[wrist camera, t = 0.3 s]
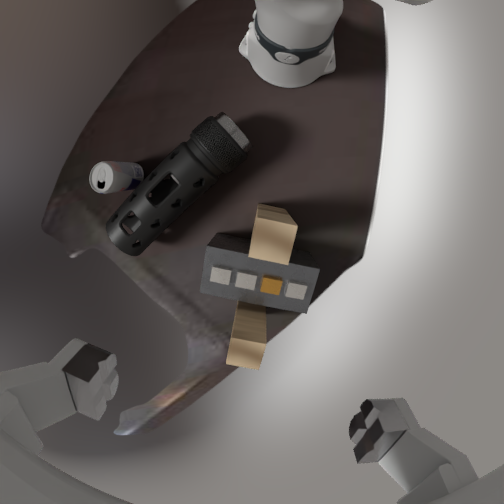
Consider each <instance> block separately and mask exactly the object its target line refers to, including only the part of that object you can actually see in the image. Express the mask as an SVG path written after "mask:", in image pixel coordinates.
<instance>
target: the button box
mask: <svg viewBox="0 0 504 504" xmlns="http://www.w3.org/2000/svg"><path fill="white" fill-rule="evenodd" d="M250 245H251V240H249V239H244V238H240V237H235V236H230V235H225V234H220V233H217V234H216V235H215V236H214V237H213V239H212V240H211V241H210V242H209V244H208V245H207V248H206V254H205V260H204V266H203V273H202V279H201V286H200V293H204V294H209V295H213V296H218V297H223V298H227V299H232V300H237V301H242V302H247V303H252V304H257V305H262V306H267V307H272V308H278V309H283V310H289V311H294V312H300V313H307V310H308V307H309V304H310V301H311V298H312V295H313V291H314V288H315V285H316V281H317V278H318V275H319V271H320V268H319V267H318V265H317V263H316V262H315V260H314V259H313V257H312V255H311V254H310V252H306V251H301V250H296V249H292V252H291V256H290V260H289V264H288V265H285V264H280V263H275V262H270V261H266V260H261V259H256V258H251V257H249V251H250Z"/></svg>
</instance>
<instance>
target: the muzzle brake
mask: <svg viewBox="0 0 504 504" xmlns="http://www.w3.org/2000/svg"><path fill="white" fill-rule="evenodd" d="M190 137H191V138H190V139H189V140H188V141H187V142H182V143H181V144H180V145H179V146H178V147H177V148H175V149H174V150H173V151H172V152H171V153H170V154H169V155H168V156H167V157H166V158H165V159H164V160H163V161H162V162H161V163H160V164H159V165H158V166H157V167H156V168H155V169H154V170H153V171H152V172H151V173H150V174H149V175H148V176H147V177H146V178H145V179H144V181H143V182H142V183H141V184H140V185H139V186H138V187H137V188H136V189H135V190H134V191H133V192H132V193H131V195H130V196H129V197H128V198H127V199H126V200H125V201H124V202H123V204H122V205H121V206H120V207H119V208H118V209H117V211H116V212H115V213H114V214H113V215H112V216H111V218H110V219H109V220H108V221H107V223H106V230H107V233H108V236H109V238H110V239H111V241H112V242H113V243H114V244H115V246H116V247H118V248H119V249H120V250H121V251H123V252H124V253H126V254H128V255H131V256H138V255H140V254H141V253H142V252H143V251H144V250H145V249H146V248H147V247H148V246H149V245H150V244H151V243H152V242H153V241H154V240H155V239H156V238H157V237H158V236H159V235H160V234H161V233H162V232H163V231H164V230H165V229H166V228H167V227H168V226H169V225H170V224H171V223H172V222H173V221H174V220H175V219H176V218H178V217H179V216H180V215H181V214H182V213H183V212H184V211H185V210H186V209H187V208H188V207H189V206H190V205H191V204H192V203H194V202H195V201H196V200H197V199H198V198H199V197H200V196H201V195H202V194H203V193H205V192H206V191H207V190H208V189H209V188H210V187H211V186H212V185H214V184H215V183H216V182H217V181H218V176H219V175H220V174H222V173H225V174H226V173H228V172H229V173H230V172H231V171H232V170H233V169H235V168H236V167H237V166H238V165H239V164H240V163H242V162H243V161H244V160H245V159H246V158H247V154H246V153H247V152H248V151H249V150H250V149H252V148H253V145H252V143H251V142H250V141H249V139H248V138H247V137H246V136H245V134H244V133H243V132H242V131H241V130H240V129H239V128H238V126H237V125H236V124H235V123H234V122H233V121H232V120H231V119H230V118H229V117H228V116H227V115H226V114H225V113H223V112H220V113H219V114H218V115H217V116H216V117H213V116H210V117H208V118H206V119H205V120H204V121H203V122H202V123H201V124H199V125H198V126H197V127H196V128H195V129H194V130H193V131H192V133H191V134H190ZM168 174H170V179H166V180H163V178H165V177H166V175H168ZM149 193H152V197H148V195H149ZM131 212H133V213H134V215H132V216H128V215H130V213H131ZM122 223H123V224H125V225H126V226H127V227H129V228H130V229H131V230H132V232H133V234H131V235H130V234H128V233H127V232H126V230H125V229H124V228H123V226H122ZM137 240H139V242H137V243H136V241H137Z"/></svg>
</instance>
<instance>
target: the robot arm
mask: <svg viewBox="0 0 504 504" xmlns="http://www.w3.org/2000/svg"><path fill="white" fill-rule="evenodd" d="M397 1H401V2H404V3H408V4H411V5H421V4H425V3H428V2H430V1H432V0H397ZM255 3H256V8H257V9H256V10H255V11H254V14H253V18H254V22H250V24H249V28H250V29H249V30H248V32H247V34H246V35H245V37H244V39H243V40H242V42H241V44H240V46H239V52H240V53H241V54H242V55H243V56H244V57H246V58H247V59H248V60H249V61H250V63H251V65H252V67H253V69H254V70H255V72H256V73H257V74H258V75H259V76H260V77H261V78H262V79H264V80H265V81H267V82H269V83H271V84H273V85H276V86H280V87H286V88H296V87H302V86H305V85H308V84H310V83H312V82H313V81H315V80H316V79H317V78H318V77H320V76H321V75H325V74H329V73H332V72H334V71H335V68H336V62H335V51H334V41H333V34H334V27H335V25H336V23H337V21H338V19H339V17H340V15H341V13H342V10H343V0H255ZM245 44H246V45H245ZM330 62H331V63H330ZM116 364H117V361H116V356H115V355H114V354H113V353H110V352H108V351H105V350H103V349H101V348H98V347H96V346H94V345H91V344H89V343H85V342H84V341H81V340H79V339H77V338H76V339H73V340H71V341H70V342H69V343H68V344H67V345H66V346H65V347H64V348H63V349H62V350H61V351H60V352H59V353H58V354H57V355H56V356H55V357H54V358H53V359H52V360H51V361H50V362H49V363H46V362H42V363H38V364H35V365H30V366H26V367H22V368H17V369H13V370H9V371H4V372H0V504H132V503H130V502H127V501H124V500H122V499H119V498H116V497H114V496H112V495H109V494H107V493H105V492H102V491H100V490H98V489H96V488H93V487H92V486H90V485H87V484H85V483H83V482H82V481H79V480H78V479H75V478H74V477H72V476H70V475H68V474H67V473H65V472H63V471H61V470H60V469H58V468H56V467H55V466H53V465H51V464H50V463H48V462H47V461H45V460H43V459H42V458H40V457H39V456H38V455H39V454H40V452H41V450H42V449H43V444H42V442H41V440H40V439H39V437H38V436H37V434H36V432H37V431H39V430H42V429H44V428H46V427H48V426H50V425H52V424H54V423H56V422H58V421H60V420H63V419H65V418H67V417H69V416H71V415H73V414H75V413H76V411H78V412H79V413H82V414H84V415H86V416H88V417H90V418H93V419H95V420H98V421H99V419H100V418H101V416H102V415H103V413H104V411H105V410H106V408H107V407H106V401H108V400H110V399H112V398H113V396H114V395H115V393H116V390H117V386H118V373H117V372H116V370H115V369H114V367H115V366H116ZM360 409H361V411H360V412H359V413H357V414H356V415H354V417H353V419H352V420H351V422H350V426H349V436H350V439H351V440H352V441H353V442H354V443H355V444H356V445H355V447H354V449H353V450H354V454H355V457H356V461H357V463H370V462H378V464H379V465H380V466H381V467H382V468H383V469H384V470H385V471H386V472H387V473H388V474H389V475H390V476H391V477H392V478H393V479H394V480H395V481H396V482H397V483H398V484H399V485H400V486H401V487H402V488H403V489H404V490H405V491H406V492H407V494H406V495H404V496H403V497H402V498H400V499H399V500H398V502H397V504H504V464H503V465H502V466H500V467H498V468H497V469H495V470H494V471H492V472H490V473H488V474H487V475H485V476H483V477H481V478H480V479H478V477H477V475H476V473H475V471H474V469H473V467H472V465H471V463H470V461H469V460H468V458H467V456H466V455H465V454H463V453H462V452H460V451H458V450H457V449H455V448H454V447H452V446H451V445H449V444H447V443H445V442H444V441H443V440H441V439H440V438H438V437H437V436H435V435H434V434H432V433H431V432H429V431H428V430H426V429H425V428H421V427H420V426H419V424H418V422H417V420H416V418H415V416H414V414H413V413H412V411H411V409H410V407H409V405H408V403H407V402H406V400H405V399H403V398H392V399H366V400H365V401H364V402H363V403H362V404H361V406H360Z"/></svg>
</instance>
